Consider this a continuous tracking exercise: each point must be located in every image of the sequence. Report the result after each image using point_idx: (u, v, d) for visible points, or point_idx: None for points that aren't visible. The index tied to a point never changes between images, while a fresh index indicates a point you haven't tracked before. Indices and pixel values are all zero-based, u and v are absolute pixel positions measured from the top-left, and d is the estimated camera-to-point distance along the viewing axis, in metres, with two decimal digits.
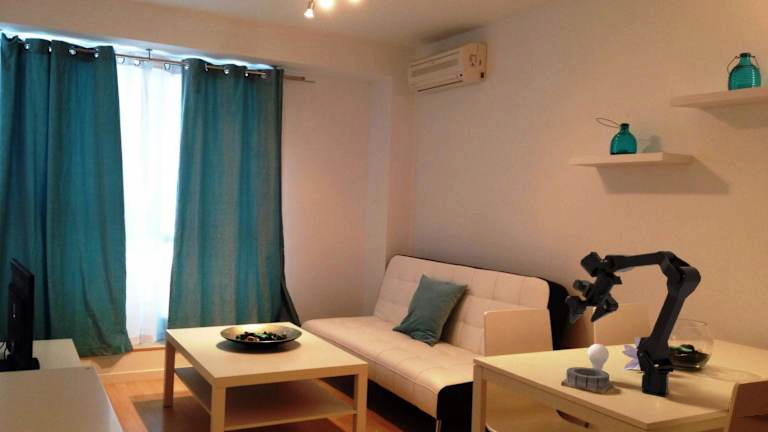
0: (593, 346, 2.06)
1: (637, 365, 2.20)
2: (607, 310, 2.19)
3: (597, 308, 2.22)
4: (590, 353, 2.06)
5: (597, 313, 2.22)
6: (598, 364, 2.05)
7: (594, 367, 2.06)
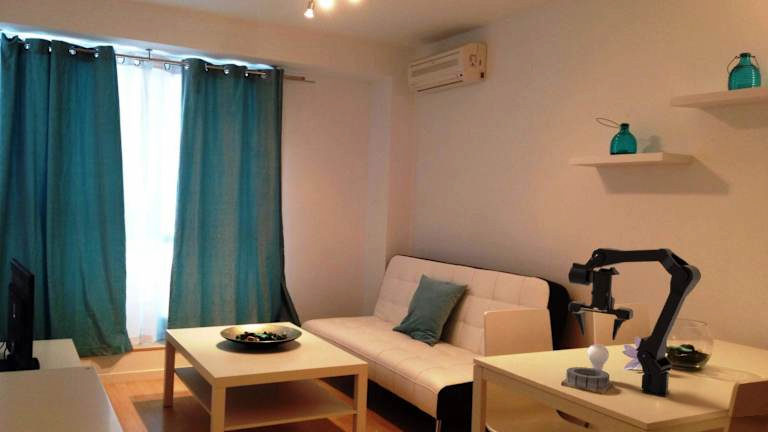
0: (593, 346, 2.06)
1: (637, 365, 2.20)
2: (617, 319, 2.02)
3: None
4: (590, 353, 2.06)
5: None
6: (598, 364, 2.05)
7: (594, 367, 2.06)
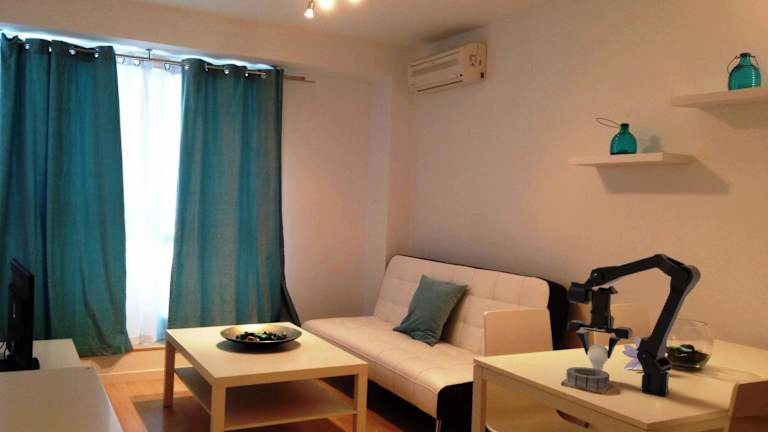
0: (593, 346, 2.06)
1: (637, 365, 2.20)
2: (612, 337, 2.02)
3: None
4: (590, 353, 2.06)
5: None
6: (598, 364, 2.05)
7: (594, 367, 2.06)
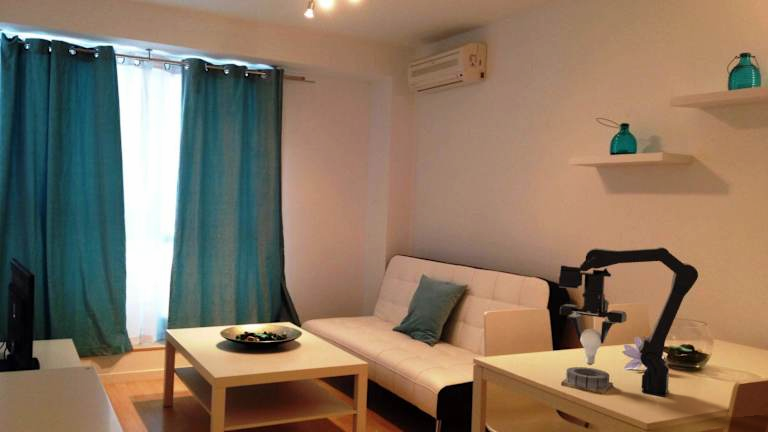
0: (586, 331, 1.99)
1: (637, 365, 2.20)
2: (606, 321, 1.95)
3: None
4: (582, 338, 1.99)
5: None
6: (591, 349, 1.98)
7: (587, 352, 1.99)
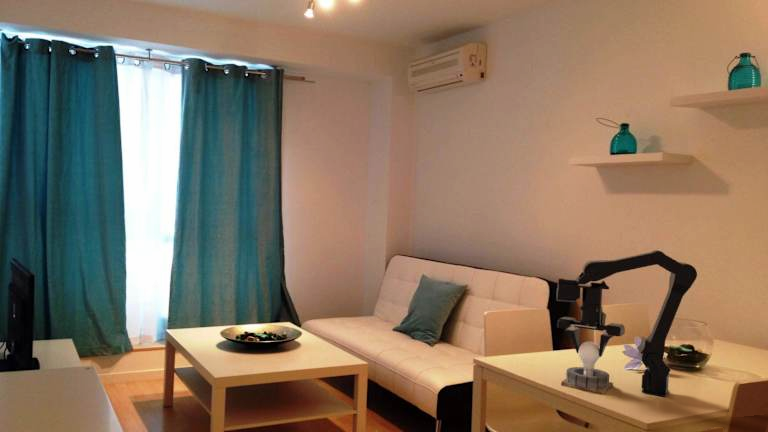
0: (584, 344, 1.98)
1: (637, 365, 2.20)
2: (604, 335, 1.94)
3: None
4: (581, 351, 1.97)
5: None
6: (589, 363, 1.97)
7: (585, 366, 1.98)
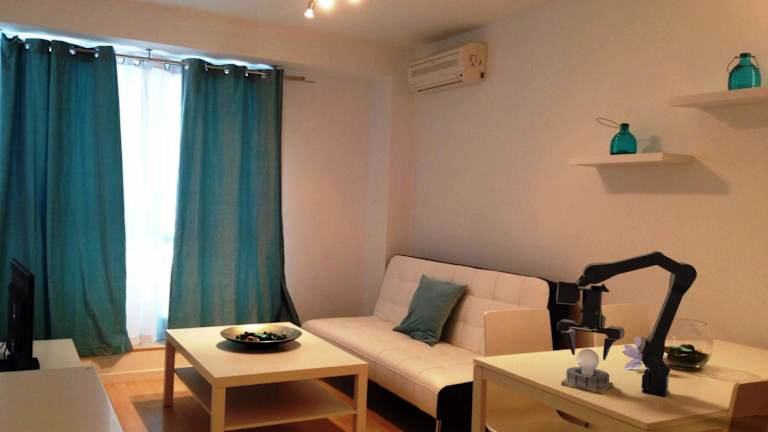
0: (582, 351, 1.98)
1: (637, 365, 2.20)
2: (608, 338, 1.93)
3: None
4: (579, 359, 1.97)
5: None
6: (588, 370, 1.97)
7: (584, 373, 1.98)
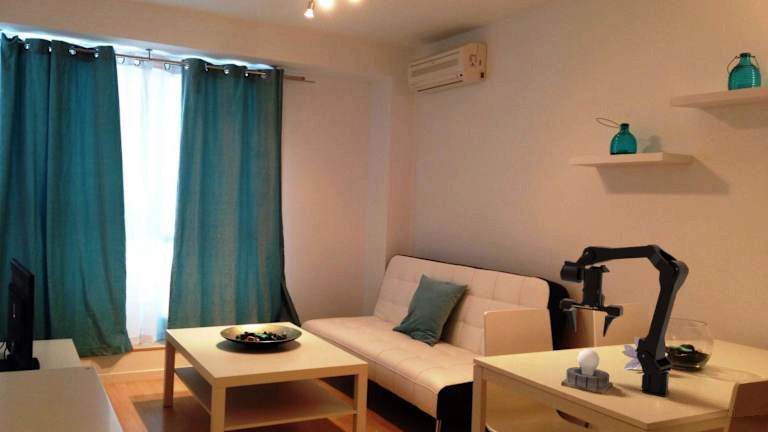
0: (583, 351, 1.98)
1: (637, 365, 2.20)
2: (608, 316, 2.05)
3: None
4: (580, 359, 1.97)
5: None
6: (588, 370, 1.97)
7: (584, 373, 1.98)
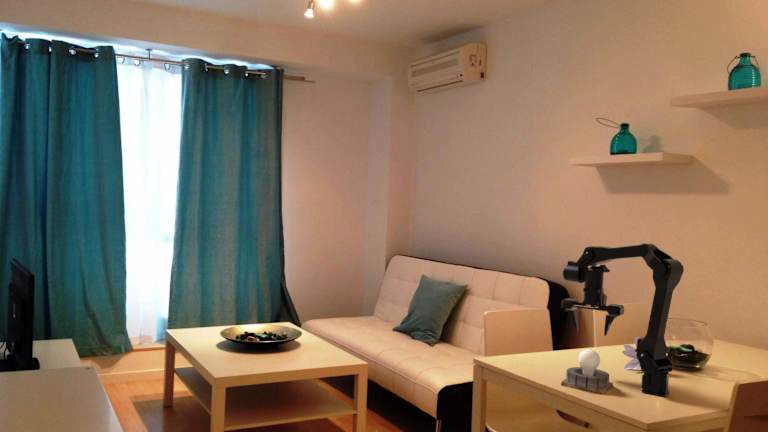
0: (584, 351, 1.98)
1: (637, 365, 2.20)
2: (609, 315, 2.08)
3: None
4: (580, 359, 1.97)
5: None
6: (588, 370, 1.97)
7: (585, 373, 1.98)
